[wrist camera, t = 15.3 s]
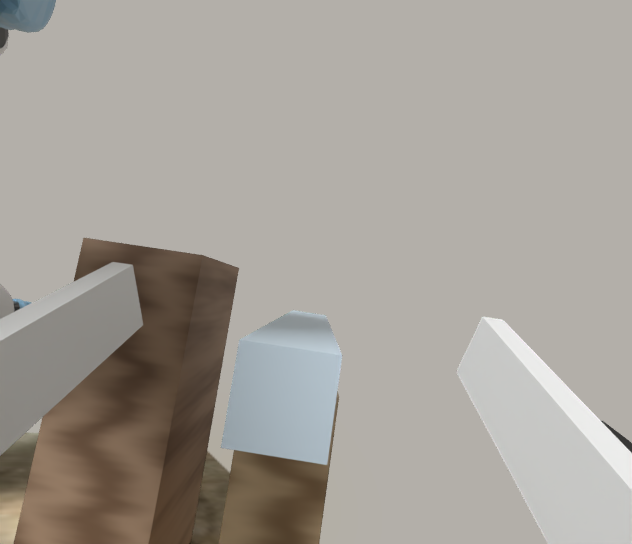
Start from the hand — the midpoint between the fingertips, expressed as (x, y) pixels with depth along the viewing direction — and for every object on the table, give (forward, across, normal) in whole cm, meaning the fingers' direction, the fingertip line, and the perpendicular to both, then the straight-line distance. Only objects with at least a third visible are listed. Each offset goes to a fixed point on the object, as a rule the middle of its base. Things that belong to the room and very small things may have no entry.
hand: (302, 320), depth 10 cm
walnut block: (0, -14, -32) cm, 35 cm away
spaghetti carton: (+7, 0, -10) cm, 12 cm away
